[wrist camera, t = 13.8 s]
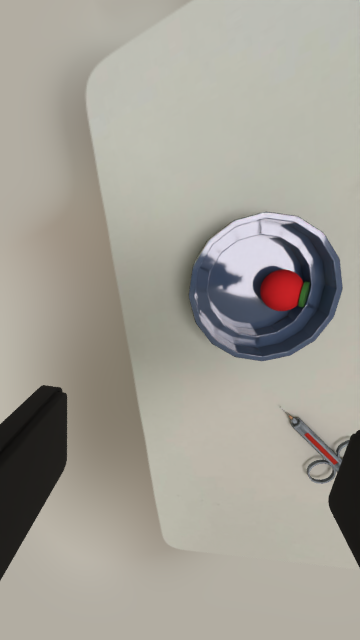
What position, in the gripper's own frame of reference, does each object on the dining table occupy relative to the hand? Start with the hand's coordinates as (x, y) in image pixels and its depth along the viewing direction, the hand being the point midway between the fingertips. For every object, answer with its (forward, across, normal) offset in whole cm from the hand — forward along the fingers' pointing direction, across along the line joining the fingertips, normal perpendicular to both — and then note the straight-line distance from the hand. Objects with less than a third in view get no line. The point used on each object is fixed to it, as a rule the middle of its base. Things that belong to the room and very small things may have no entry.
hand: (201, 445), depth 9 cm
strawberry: (+20, -6, -3) cm, 21 cm away
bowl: (+21, -6, -3) cm, 22 cm away
